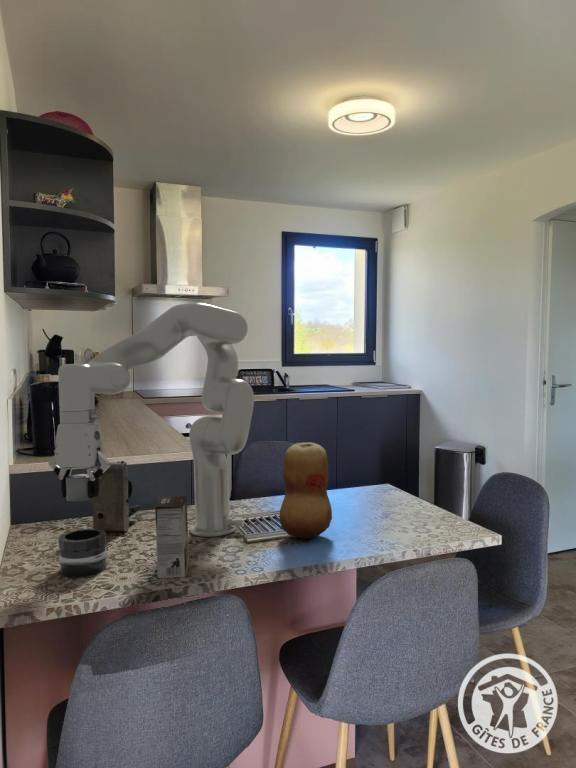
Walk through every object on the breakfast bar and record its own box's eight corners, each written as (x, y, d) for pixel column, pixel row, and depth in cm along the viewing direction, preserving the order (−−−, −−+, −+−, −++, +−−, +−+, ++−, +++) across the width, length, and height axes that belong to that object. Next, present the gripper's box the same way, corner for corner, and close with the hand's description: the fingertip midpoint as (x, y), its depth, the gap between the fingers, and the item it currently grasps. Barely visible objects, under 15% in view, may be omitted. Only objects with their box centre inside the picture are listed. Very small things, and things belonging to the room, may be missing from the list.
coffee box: (161, 564, 136) (159, 496, 135) (189, 562, 137) (187, 494, 136) (156, 579, 127) (153, 506, 126) (186, 577, 128) (183, 504, 127)
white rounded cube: (99, 495, 135) (98, 473, 135) (85, 502, 130) (84, 479, 129) (76, 494, 137) (75, 472, 136) (61, 501, 131) (60, 478, 130)
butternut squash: (294, 549, 144) (291, 449, 143) (272, 534, 156) (270, 442, 155) (342, 540, 150) (340, 444, 149) (317, 527, 162) (316, 438, 161)
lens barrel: (115, 562, 138) (114, 529, 137) (91, 579, 128) (89, 543, 127) (77, 559, 140) (75, 527, 140) (50, 576, 130) (48, 540, 130)
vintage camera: (145, 519, 175) (142, 453, 175) (125, 533, 160) (122, 461, 160) (114, 520, 176) (111, 454, 176) (92, 534, 161) (89, 462, 161)
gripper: (120, 416, 134) (122, 494, 135) (54, 416, 138) (57, 491, 139) (102, 420, 127) (105, 502, 127) (33, 419, 131) (37, 499, 131)
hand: (80, 495), depth 133 cm, fingers closed on white rounded cube, 5 cm apart
